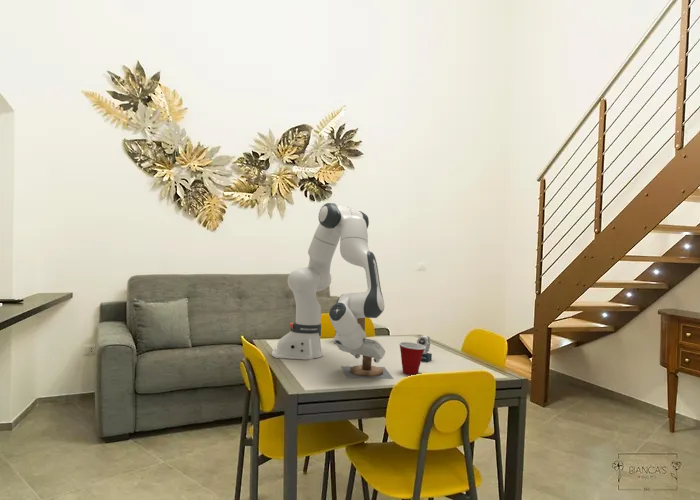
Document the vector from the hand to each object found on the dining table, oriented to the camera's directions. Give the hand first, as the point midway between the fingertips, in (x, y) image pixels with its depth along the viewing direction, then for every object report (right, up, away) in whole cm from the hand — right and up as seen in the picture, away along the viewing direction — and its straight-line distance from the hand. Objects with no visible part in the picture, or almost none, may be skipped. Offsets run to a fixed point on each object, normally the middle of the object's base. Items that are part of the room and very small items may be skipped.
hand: (367, 359), depth 212 cm
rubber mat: (-1, -6, 0) cm, 6 cm away
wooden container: (-7, -4, +57) cm, 58 cm away
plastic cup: (+17, -7, +2) cm, 19 cm away
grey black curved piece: (+26, -6, +28) cm, 39 cm away
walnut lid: (0, -5, 0) cm, 5 cm away
